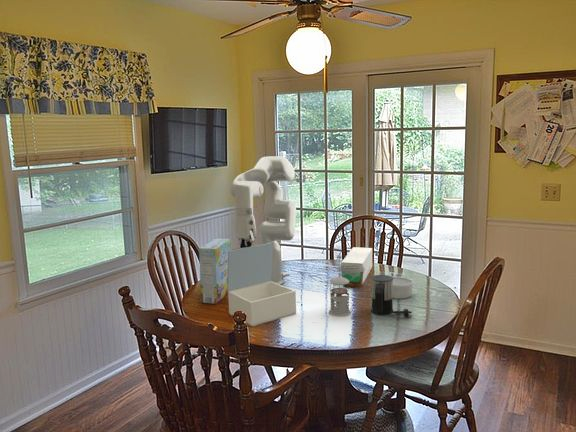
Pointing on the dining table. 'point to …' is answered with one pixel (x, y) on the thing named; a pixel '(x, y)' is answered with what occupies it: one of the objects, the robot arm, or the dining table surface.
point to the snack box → (214, 270)
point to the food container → (353, 276)
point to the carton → (263, 302)
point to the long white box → (359, 260)
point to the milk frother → (383, 295)
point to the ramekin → (402, 287)
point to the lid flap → (249, 266)
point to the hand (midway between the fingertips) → (246, 253)
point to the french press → (339, 297)
